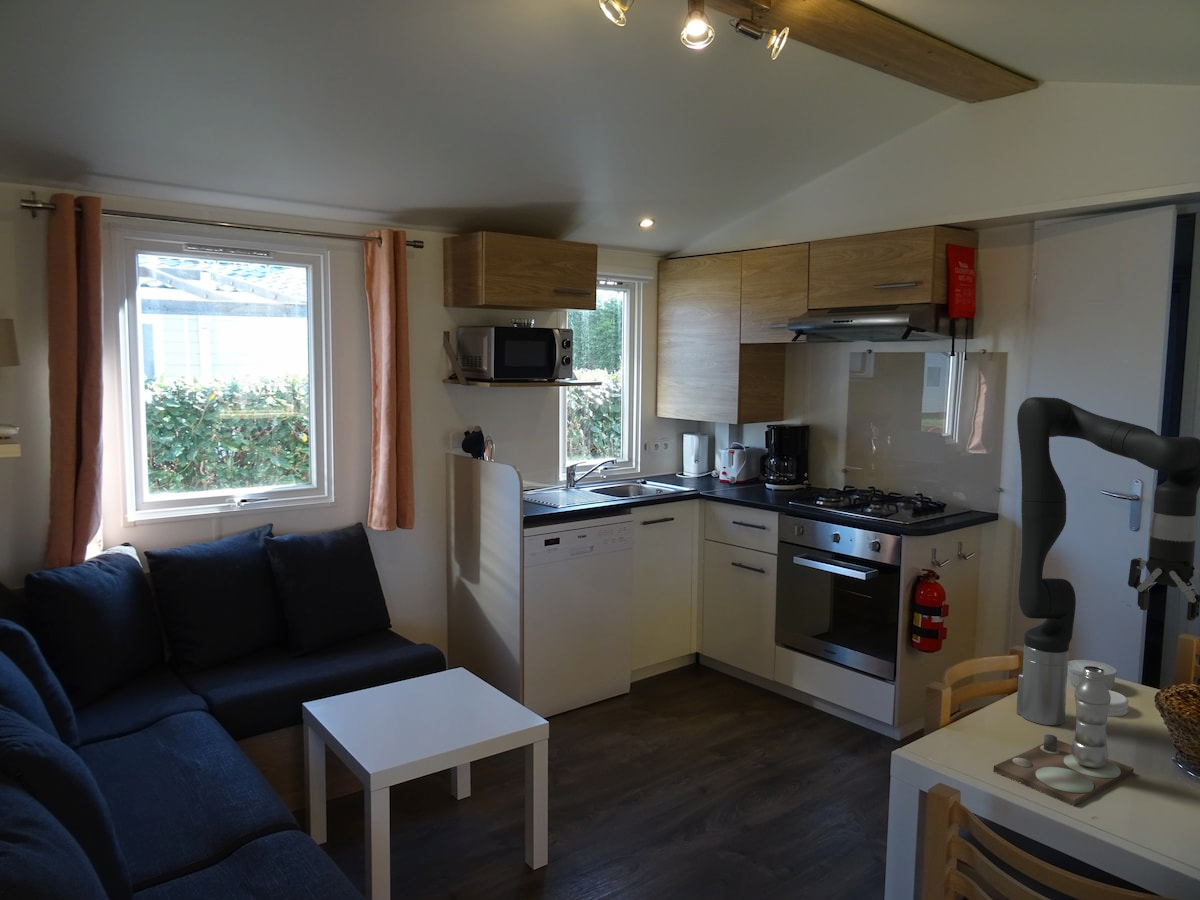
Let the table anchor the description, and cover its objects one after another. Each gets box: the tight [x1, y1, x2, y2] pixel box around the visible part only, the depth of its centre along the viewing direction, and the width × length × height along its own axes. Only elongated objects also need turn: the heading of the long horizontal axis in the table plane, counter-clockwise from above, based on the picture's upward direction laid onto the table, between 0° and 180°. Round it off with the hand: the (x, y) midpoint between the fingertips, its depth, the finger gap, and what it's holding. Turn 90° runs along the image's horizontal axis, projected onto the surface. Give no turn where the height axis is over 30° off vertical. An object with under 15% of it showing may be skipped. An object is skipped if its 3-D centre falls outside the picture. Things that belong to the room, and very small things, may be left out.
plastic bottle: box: [1071, 666, 1111, 768], centre depth 168 cm, size 6×7×20 cm
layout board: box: [993, 734, 1135, 807], centre depth 169 cm, size 16×23×4 cm
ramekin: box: [1067, 659, 1118, 691], centre depth 215 cm, size 11×11×5 cm
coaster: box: [1107, 689, 1129, 717], centre depth 201 cm, size 10×10×4 cm
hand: (1167, 614), depth 169 cm, fingers open, 8 cm apart
